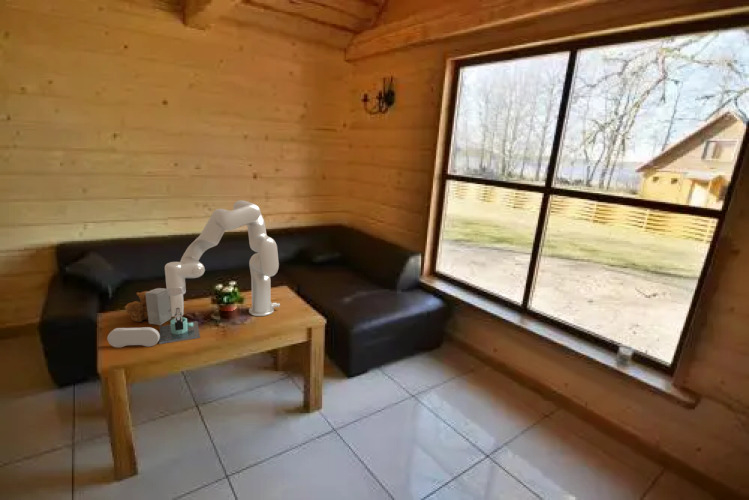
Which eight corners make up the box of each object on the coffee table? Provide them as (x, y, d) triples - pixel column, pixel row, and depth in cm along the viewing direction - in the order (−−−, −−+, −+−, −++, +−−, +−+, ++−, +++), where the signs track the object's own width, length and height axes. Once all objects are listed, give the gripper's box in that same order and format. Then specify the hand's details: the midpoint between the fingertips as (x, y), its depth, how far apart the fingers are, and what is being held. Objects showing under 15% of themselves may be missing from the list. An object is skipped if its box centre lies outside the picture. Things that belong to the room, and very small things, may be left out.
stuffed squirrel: (164, 315, 191) (161, 290, 188) (138, 326, 178) (135, 300, 175) (149, 311, 194) (147, 286, 191) (123, 321, 182) (119, 296, 178)
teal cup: (171, 328, 176) (170, 318, 174) (193, 325, 180) (192, 315, 179) (171, 335, 170) (170, 324, 169) (193, 331, 174) (193, 321, 173)
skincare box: (160, 325, 180) (157, 294, 176) (146, 323, 181) (143, 292, 177) (172, 318, 188) (170, 288, 184) (160, 316, 189) (157, 286, 185)
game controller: (161, 343, 165) (159, 326, 162) (159, 346, 162) (157, 328, 160) (110, 345, 161) (108, 327, 159) (108, 348, 159) (105, 330, 157)
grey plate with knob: (197, 322, 185) (196, 313, 184) (199, 337, 171) (199, 327, 170) (159, 328, 178) (158, 318, 176) (159, 344, 164) (158, 333, 163)
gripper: (166, 284, 175) (169, 318, 179) (166, 297, 160) (169, 334, 164) (184, 282, 178) (187, 316, 183) (186, 295, 164) (189, 331, 168)
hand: (179, 324), depth 174 cm, fingers open, 9 cm apart
